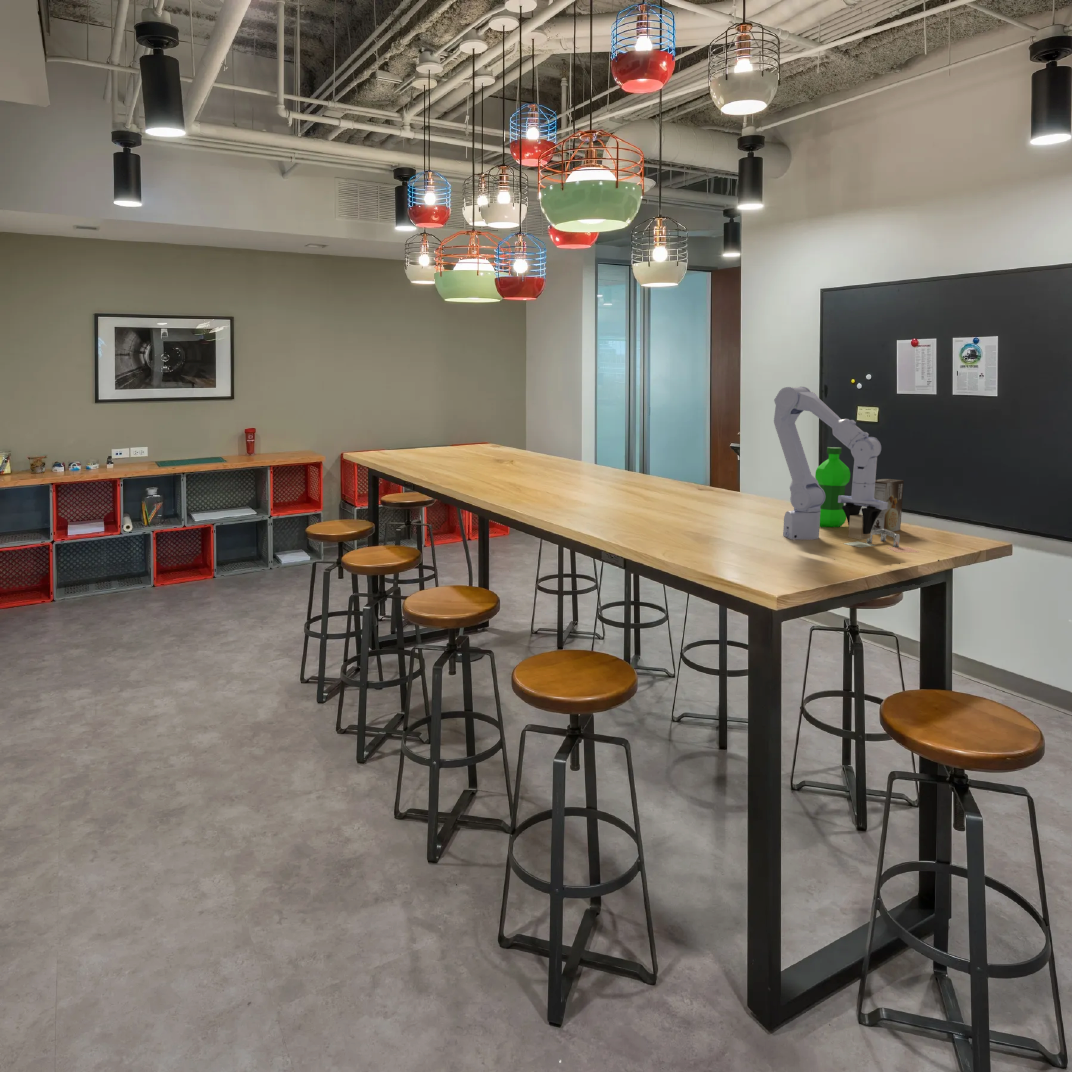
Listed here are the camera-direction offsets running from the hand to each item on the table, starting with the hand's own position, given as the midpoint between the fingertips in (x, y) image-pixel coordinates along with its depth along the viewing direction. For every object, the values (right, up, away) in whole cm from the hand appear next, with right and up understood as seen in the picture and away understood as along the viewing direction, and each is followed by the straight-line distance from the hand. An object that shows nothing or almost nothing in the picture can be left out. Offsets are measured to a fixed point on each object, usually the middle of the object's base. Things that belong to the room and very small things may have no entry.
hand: (859, 532), depth 222 cm
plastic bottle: (+3, +1, +32) cm, 32 cm away
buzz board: (+5, -5, -1) cm, 7 cm away
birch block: (0, -1, 0) cm, 2 cm away
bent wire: (+6, -3, +1) cm, 7 cm away
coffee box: (+16, 0, +23) cm, 28 cm away
